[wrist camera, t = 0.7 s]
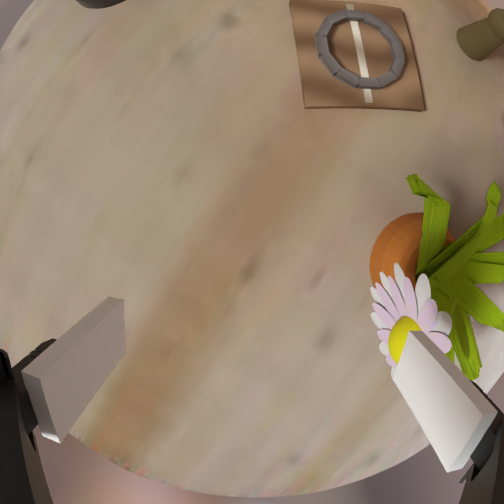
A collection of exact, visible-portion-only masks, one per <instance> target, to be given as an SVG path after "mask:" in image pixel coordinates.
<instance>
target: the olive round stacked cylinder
mask: <svg viewBox="0 0 504 504" xmlns="http://www.w3.org/2000/svg"><path fill="white" fill-rule="evenodd" d="M457 40H458V43H459V45H460V47H461V48H462V50H463V51H464V52H465V53H466V54H467V55H468V56H469V57H470V58H472V59H474V60H476V61H481V60H482V59H484V58H485V57H486V56H488V55H489V54H490V53H492V52H493V51H494V50H495V49H497V48H498V47H499V46H500V45H502V44H503V43H504V9H499V8H497V9H494V10H492V11H491V12H490V13H489V15H488V18H485V19H483V20H480V21H477V22H475V23H472V24H470V25H467V26H465V27H462V28H460V29H459V30H458V31H457Z"/></svg>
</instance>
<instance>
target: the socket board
mask: <svg viewBox="0 0 504 504" xmlns="http://www.w3.org/2000/svg"><path fill="white" fill-rule="evenodd" d="M289 6H290V11H291V17H292V23H293V29H294V35H295V42H296V48H297V55H298V62H299V69H300V76H301V84H302V92H303V100H304V108H305V109H317V108H364V109H390V110H406V111H419V112H421V111H423V110H424V104H423V98H422V92H421V87H420V81H419V76H418V71H417V67H416V62H415V58H414V53H413V49H412V45H411V41H410V37H409V33H408V30H407V26H406V23H405V19H404V16H403V12H402V9H400V8H394V7H388V6H381V5H374V4H366V3H357V2H346V1H331V0H290V2H289Z"/></svg>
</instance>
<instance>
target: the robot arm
mask: <svg viewBox="0 0 504 504" xmlns="http://www.w3.org/2000/svg"><path fill="white" fill-rule="evenodd" d="M76 1H77V2H78V3H79V4H81V5H82V6H84V7H87V8H104V7H108V6H111V5H114V4H117V3H119V2H121V1H124V0H76ZM125 353H126V343H125V324H124V300H123V299H117V298H112V297H108V298H107V299H106V300H104V301H103V302H102V303H101V304H99V305H98V306H97V307H96V308H95V309H93V310H92V311H91V312H90V313H88V314H87V315H86V316H85V317H84V318H82V319H81V320H80V321H79V322H78V323H76V324H75V325H74V326H73V327H72V328H70V329H69V330H68V331H67V332H66V333H64V334H63V335H62V336H61V337H60V338H59V339H57V340H56V339H50V340H48V341H46V342H43V343H41V344H40V345H39V346H38V347H37V348H35V350H34V351H32V352H31V353H29V354H28V356H26V357H25V358H23V359H22V360H21V361H20V362H19V363H18V364H16V365H15V366H14V367H13V368H11V364H10V360H9V357H8V354H7V352H5V351H4V350H2V349H0V504H53V501H52V498H51V496H50V493H49V489H48V486H47V482H46V479H45V476H44V472H43V468H42V464H41V460H40V456H39V452H38V448H37V443H36V438H35V435H34V433H33V429H34V428H35V427H36V426H37V424H38V425H39V428H40V430H41V433H42V435H43V436H44V437H47V438H49V439H51V440H54V441H56V442H58V443H61V442H62V440H63V439H64V438H65V436H66V435H67V433H68V432H69V430H70V429H71V428H72V426H73V425H74V423H75V422H76V420H77V419H78V418H79V416H80V415H81V413H82V412H83V411H84V409H85V408H86V406H87V405H88V404H89V402H90V401H91V399H92V398H93V397H94V395H95V394H96V392H97V391H98V390H99V388H100V387H101V386H102V384H103V383H104V381H105V380H106V379H107V377H108V376H109V375H110V373H111V372H112V371H113V369H114V368H115V367H116V365H117V364H118V363H119V361H120V360H121V358H122V357H123V356H124V354H125ZM393 380H394V382H395V384H396V385H397V387H398V389H399V390H400V392H401V394H402V395H403V397H404V398H405V400H406V402H407V403H408V405H409V407H410V409H411V410H412V412H413V414H414V415H415V417H416V419H417V420H418V422H419V424H420V426H421V427H422V429H423V431H424V432H425V434H426V436H427V438H428V439H429V441H430V443H431V445H432V446H433V448H434V450H435V452H436V454H437V455H438V457H439V459H440V460H441V463H442V464H443V466H444V468H445V470H446V471H447V472H450V471H454V470H458V469H461V468H463V466H464V465H465V464H466V462H467V461H468V459H469V458H470V457H471V459H472V460H473V462H474V463H473V464H472V466H471V467H470V468H469V470H468V471H467V473H466V474H465V475H464V477H463V478H462V479H461V481H460V482H459V483H462V482H463V481H464V480H465V479H466V483H465V486H464V490H463V493H462V496H461V499H460V503H459V504H504V414H503V413H502V412H501V410H500V409H499V408H498V407H497V406H496V405H495V404H494V403H493V402H492V401H491V399H490V398H488V396H487V395H486V394H485V393H483V390H482V389H481V388H480V387H479V386H478V385H477V384H476V383H474V382H472V381H471V380H469V379H468V378H467V377H466V376H465V375H464V374H463V373H462V372H461V371H460V370H459V368H458V367H457V366H456V365H455V364H454V363H453V362H452V361H451V360H450V359H449V358H448V357H447V356H446V355H445V354H444V353H443V352H442V351H441V350H440V349H439V348H438V347H437V345H436V344H435V343H434V342H433V341H432V340H431V339H430V338H429V337H428V336H427V335H426V334H425V333H424V332H423V331H411V330H409V332H408V335H407V339H406V342H405V345H404V348H403V351H402V354H401V357H400V360H399V363H398V366H397V369H396V371H395V374H394V377H393Z"/></svg>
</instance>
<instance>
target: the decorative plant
mask: <svg viewBox="0 0 504 504" xmlns="http://www.w3.org/2000/svg"><path fill="white" fill-rule="evenodd" d="M405 178H406V180H407V182H408V184H409V186H410V188H411V191H412V194H415V195H418V196H421V197H424V198H425V203H424V214H423V213H411V214H406V215H403V216H401V217H398V218H397V219H395V220H394V221H392V222H391V223H389V224H388V225H387V226H386V227H385V228H384V229H383V231H382V232H381V234H380V235H379V236H378V238H377V240H376V242H375V244H374V246H373V250H372V253H371V258H370V275H371V279H372V282H373V285H374V287H375V288H373V287H371V288H370V290H371V293H372V296H373V298H374V300H375V301H376V303H377V304H376V303H373V304H372V305H373V308H374V310H375V312H376V313H374V312H373V313H371V318H372V320H373V321H374V323H375V324H376V326H377V327H378V328H379V329H380V330H378V332H377V335H378V337H379V338H380V339H381V340H382V341H383V342H382V343H381V344H380V346H379V348H380V351H381V352H382V353H383V354H384V355H385V356H387V357H386V361H387V363H388V364H389V365H390V366H393V367H392V371H391V377H392V379H393V377H394V374H395V371H396V369H397V366H398V363H399V360H400V357H401V354H402V351H403V348H404V345H405V342H406V339H407V335H408V332H409V330H411V331H423V332H424V333H425V334H426V335H427V336H428V337H429V338H430V339H431V340H432V341H433V342H434V343H435V344H436V345H437V347H438V348H439V349H440V350H441V351H442V352H443V353H444V354H445V355H446V356H447V357H448V358H449V359H450V360H451V361H452V362H453V363H454V350H455V353H456V356H457V359H458V361H459V363H460V366H461V369H462V373H463V374H464V375H465V376H466V377H467V378H468V379H469V380H474V379H476V378H478V377H479V371H480V368H481V367H482V365H481V360H480V356H479V352H478V348H477V344H476V340H475V336H474V333H473V329H472V326H471V322H470V319H469V315H468V313H469V314H470V315H471V316H472V317H473V318H474V319H476V320H477V321H478V322H479V323H480V324H484V325H488V326H491V327H494V328H497V329H499V330H501V331H504V314H503V313H502V312H501V311H500V310H499V308H498V307H497V306H496V305H495V304H494V303H493V302H492V301H491V300H490V299H489V298H488V297H487V296H486V295H485V294H484V293H483V292H482V291H481V290H480V289H479V288H478V287H477V286H476V285H475V284H474V283H501V282H503V281H504V252H486V253H481V252H482V251H484V250H486V249H487V248H489V247H491V246H493V245H494V244H496V243H497V242H499V241H501V240H502V239H504V214H502V215H500V216H499V217H497V207H498V205H499V202H500V199H501V191H500V188H499V186H498V185H497V184H496V182H495V181H494V182H493V183H492V185H491V186H490V187H489V190H488V193H487V196H486V202H487V206H488V207H487V210H486V212H485V215H484V216H483V217H482V218H481V219H480V220H479V221H477V222H476V223H475V224H474V225H473V226H472V227H471V228H470V229H469V230H467V231H466V232H465V233H464V234H463V235H462V236H461V237H460V238H458V239H457V240H456V241H455V239H454V237H453V235H452V234H451V232H450V231H449V230H448V229H447V226H448V220H449V214H450V207H451V205H450V204H449V203H448V202H446V201H445V200H444V199H443V198H441V197H440V196H439V195H438V194H436V193H435V192H434V191H433V190H432V189H431V188H430V187H429V186H428V185H426V184H425V183H424V182H423V181H422V180H421V179H420V178H419V176H418V175H417V174H413V175H408V177H405ZM496 217H497V218H496ZM469 226H470V225H469ZM393 381H394V380H393Z"/></svg>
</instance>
